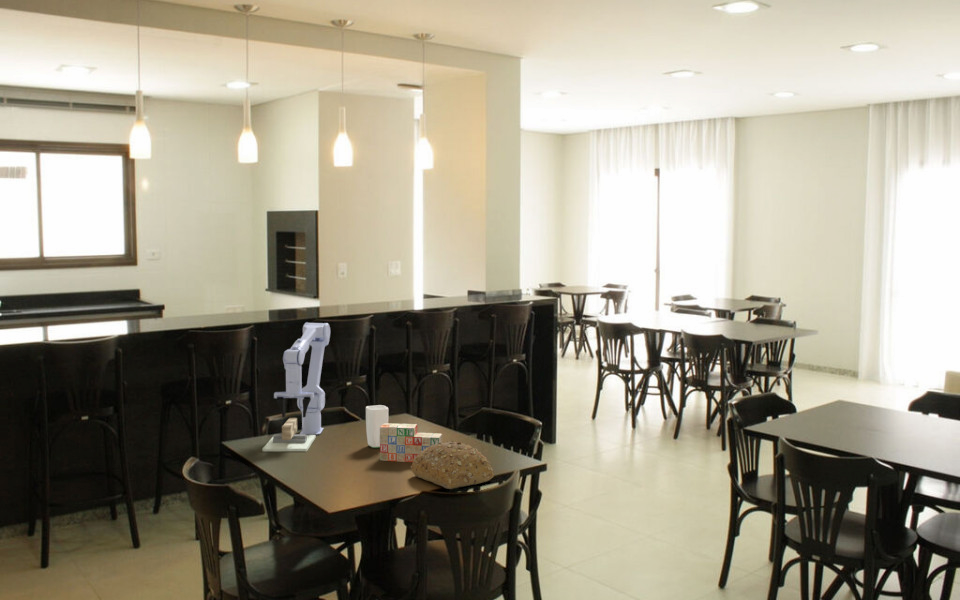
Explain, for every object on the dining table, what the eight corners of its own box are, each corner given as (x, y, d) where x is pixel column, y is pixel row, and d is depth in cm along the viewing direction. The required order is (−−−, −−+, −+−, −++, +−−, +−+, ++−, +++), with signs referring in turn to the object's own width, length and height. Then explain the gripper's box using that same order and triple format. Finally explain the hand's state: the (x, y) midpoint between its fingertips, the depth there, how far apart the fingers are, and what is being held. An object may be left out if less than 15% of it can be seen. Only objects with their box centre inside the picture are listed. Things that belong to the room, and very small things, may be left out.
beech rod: (289, 430, 312) (289, 417, 311) (297, 430, 312) (297, 417, 312) (282, 439, 298) (282, 426, 298) (290, 439, 298) (290, 426, 298)
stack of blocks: (442, 459, 288) (442, 425, 287) (438, 464, 282) (439, 429, 281) (384, 456, 291) (384, 422, 290) (379, 460, 285) (379, 426, 284)
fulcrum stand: (274, 437, 315) (274, 428, 315) (315, 437, 316) (315, 428, 315) (262, 451, 295) (262, 441, 295) (306, 451, 296) (306, 441, 295)
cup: (371, 449, 299) (371, 410, 298) (364, 445, 305) (364, 406, 304) (389, 447, 302) (389, 408, 301) (382, 443, 309) (382, 404, 307)
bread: (403, 476, 267) (404, 441, 266) (454, 465, 281) (455, 431, 280) (449, 495, 248) (449, 457, 247) (501, 482, 262) (501, 446, 261)
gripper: (271, 383, 300) (272, 419, 301) (311, 383, 300) (311, 419, 301) (276, 379, 307) (276, 414, 308) (314, 379, 307) (314, 415, 308)
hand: (294, 416), depth 305 cm, fingers open, 7 cm apart
